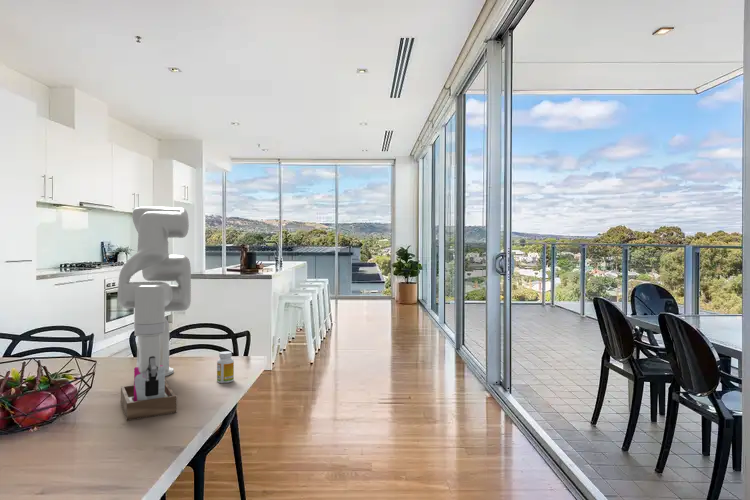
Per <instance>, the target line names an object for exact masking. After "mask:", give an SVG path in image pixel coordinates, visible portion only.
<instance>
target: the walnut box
mask: <svg viewBox="0 0 750 500" xmlns="http://www.w3.org/2000/svg"><path fill="white" fill-rule="evenodd" d="M120 404H121V408H122V410H123V413H124V416H125V418H126V421H127V422H128V421H134V420H139V419H146V417H147V418H152V416H153V417H158V415H159V416H163V415H170V414H176V413H177V395H176V393H175V392H174V391H173V389H172V388H171V387H170V385H169V384H168V383H167V381H166V380H165V397H162V398H155V399H148V400H141V401H134V384H131V385H124V386H120Z"/></svg>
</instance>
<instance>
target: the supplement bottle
mask: <svg viewBox="0 0 750 500" xmlns="http://www.w3.org/2000/svg"><path fill="white" fill-rule="evenodd" d="M218 356H219V358H218V359H217V360H216V382H218V383H219V384H227V383H231V382H234V377H235V375H234V370H235V369H234V368H235V367H234V366H235V364H234V363H235V361H234V359H233V357H232V356H233V354H232V351H220V352H219V354H218Z"/></svg>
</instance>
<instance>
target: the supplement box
mask: <svg viewBox="0 0 750 500" xmlns="http://www.w3.org/2000/svg"><path fill="white" fill-rule="evenodd" d="M157 368H158V367H157ZM133 369H134V371H133V375H134V376H133V378H134V379H133V385H134V401H141V400H148V399H155V398H162V397H165V381H166V376H165V366H162V365H160V370H159V371H158V380H159V389H158V395H155V396H148V397H146V396H145V381H146V372H143V373H140V372H139V370H138V367H137V366H136V367H134V368H133ZM148 370H150V369H148Z"/></svg>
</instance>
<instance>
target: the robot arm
mask: <svg viewBox="0 0 750 500" xmlns="http://www.w3.org/2000/svg"><path fill="white" fill-rule="evenodd" d="M131 215H132V218H131V219H132V221H133V226H134V228H135V229H136V231H137V235H138V236H137V250H136V253H135V254H133V255H132V256H131V257H129V259H128V260H127V261H125V263H124V264H123V266H122V268H121V269H120V273H119V275H118V285H117V302H118V304H119V306H120V307H121V308H122V309H123V308H124V309H134V336H135V337H137V348H136V367H138V370H139V372H140V373H143V372H146V381H145V396H146V397H148V396H155V395H158V389H159V380H158V371H159V370H160V365H162V366H165V377H168V376H170V375H172V374H173V373H174V368H173V367H170V323H169V321H168V319H167V318H166V316H165V314H166V312H183V311H186V310H188V309H189V308H190V306H191V302H192V301H191V300H192V295H191V294H192V291H191V290H192V284H191V283H192V282H191V281H192V280H191V279H192V276H191V275H192V274H191V273H192V272H191V271H192V270H191V268H192V267H191V262H190V259H189V258H188V256H186V255H184V254H183V255H182V254H170V253H169V240H168V239H169V238H171V239H177V238H178V239H181V238H185V237H187V235H188V233H189V227H190V226H189V225H190V224H189V222H190V221H189V220H190V219H189V214H188V211H187V210H186V209H185V208H183V207H173V206H172V207H171V206H152V205H151V206H140V207H135V208H134V209H133V210H132V214H131ZM140 271H141V272H142V278H143V280H145V281H132V282H131V278H132V277H133V276H134V275H135V274H137V273H138V272H140ZM168 282H175V283H177V284H169V283H168ZM157 367H158V368H157ZM148 369H150V370H148Z"/></svg>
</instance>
